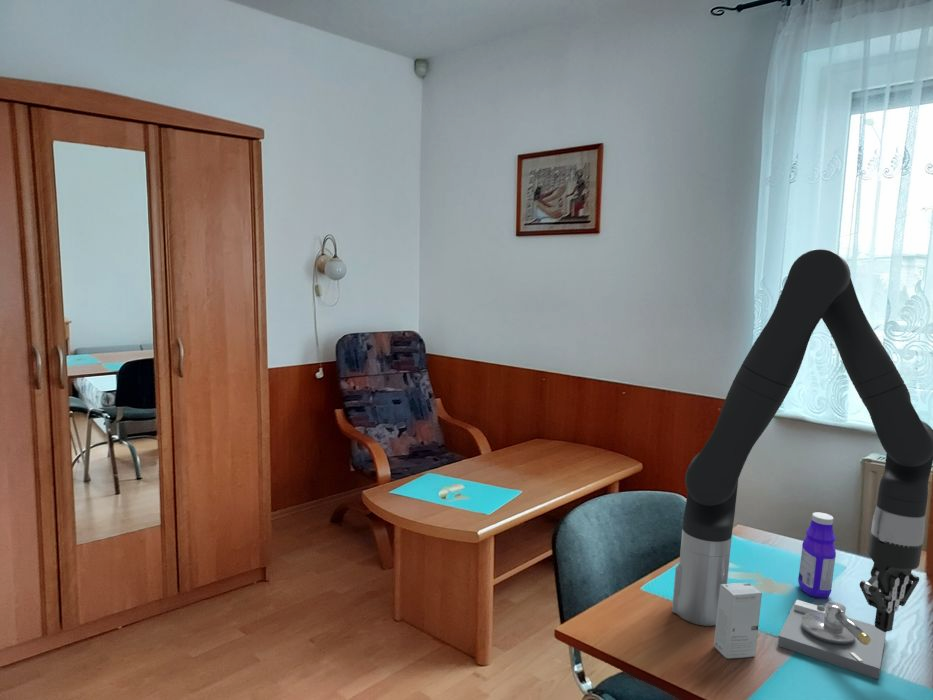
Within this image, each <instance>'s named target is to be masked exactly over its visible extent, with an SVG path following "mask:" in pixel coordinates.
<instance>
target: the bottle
mask: <svg viewBox="0 0 933 700" xmlns="http://www.w3.org/2000/svg"><path fill="white" fill-rule="evenodd" d="M833 525H834V517H833V516H832V515H830V514H828V513H826V512H825V513H824V512H818V511H817V512H816V511H815V512H812V515H811V522H810V525H809V527H808V528H807V529H806V531H805V534H806V537H804V539H803V541H802V545H801V546H802V548H801V555H800V556H801V557H800V563H799V571H798V577H797V578H798V579H797V580H798V582H797V583H798V585H799V588H800V589H801V590H802V591H804V593H805V594H806V595H808V596H810V597H812V598H818V599H819V598H820V599H823V598H829V597H830V595H831V593H832V586H833V580H834V571H835V563H836V558H837V557H836V556H837V555H836V554H837V552H836V547H835V543H834V542H835V541H836V540H837V538H836V536H835V533H834V529H833V527H834V526H833Z"/></svg>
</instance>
